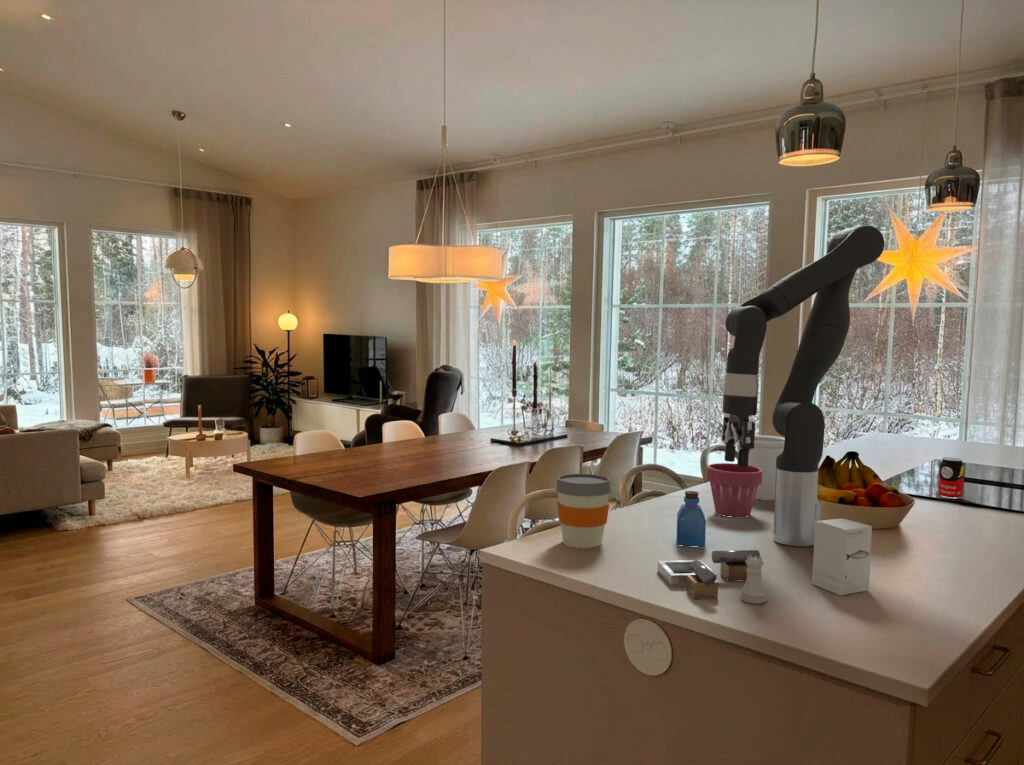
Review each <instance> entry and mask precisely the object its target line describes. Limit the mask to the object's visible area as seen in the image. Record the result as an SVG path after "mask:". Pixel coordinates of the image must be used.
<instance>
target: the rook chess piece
mask: <svg viewBox="0 0 1024 765" xmlns="http://www.w3.org/2000/svg"><path fill="white" fill-rule="evenodd" d="M745 562H746V564H747V566H748V568H747V569H746V571H747V579H746V581H745V584H744V585H743V588H742V589H741V591H740V593H741V595H740V598H741V600H742V601H743V602H744V601H745V603H746V602H747V603H746V604H751V605H762V604H764V603H765V602H766V601H767V598H766V596H767V593H766V591H765V590H764V586H763V582H762V581H763V580H762V573H763V570H762V567H763V566H764V564H765V563H764V561H763V558H762V556H761V555H760V556H759V559H758V558H757V556H756V555H755V558H752V555H749V556H747V560H746V561H745Z"/></svg>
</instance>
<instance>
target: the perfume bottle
mask: <svg viewBox="0 0 1024 765" xmlns="http://www.w3.org/2000/svg"><path fill="white" fill-rule="evenodd" d="M699 494H700V493H699V492H698V491H695V490H686V491H684V495H685V496H683V502H684V503H683V504H681V506H680V508H679V509H678V511H677V513H676V546H677V545H683V546H698V547H705V548H706V528H707V527H706V526H707V523H706V522H707V521H706V517H705V513H704V511H703V509H702V506H701V505H700V504H699V503H700V497H699Z"/></svg>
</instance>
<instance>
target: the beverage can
mask: <svg viewBox="0 0 1024 765" xmlns="http://www.w3.org/2000/svg"><path fill="white" fill-rule="evenodd" d="M941 459H942V460H941V461H940V463H939V472H938V493H937V494H938V495H939V494H940V495H943V496H948V497H962V498H963V496H964V480H965V479H964V478H965V476H964V474H965V465H964V462H963V459H962V458H958V457H957V458H956V457H942V458H941Z"/></svg>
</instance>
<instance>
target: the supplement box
mask: <svg viewBox="0 0 1024 765" xmlns="http://www.w3.org/2000/svg"><path fill="white" fill-rule="evenodd" d="M872 531H873V526H872V525H869V524H865V523H862V522H857V521H855V520H850V519H847V518H840V517H839V518H833V519H822V520H821V519H820V521H815V531H814V545H813V553H812V554H813V556H812V558H813V561H812V580H811V584H812V585H815V586H817V587H819V588H821V589H823V590H826V591H829V592H831V593H834V594H836V595H838V596H841V597H842V596H845V595H849V594H855V593H861V592H868V591H869V590H870V580H871V579H870V575H871V556H872V555H871V554H872V534H873V532H872Z"/></svg>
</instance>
